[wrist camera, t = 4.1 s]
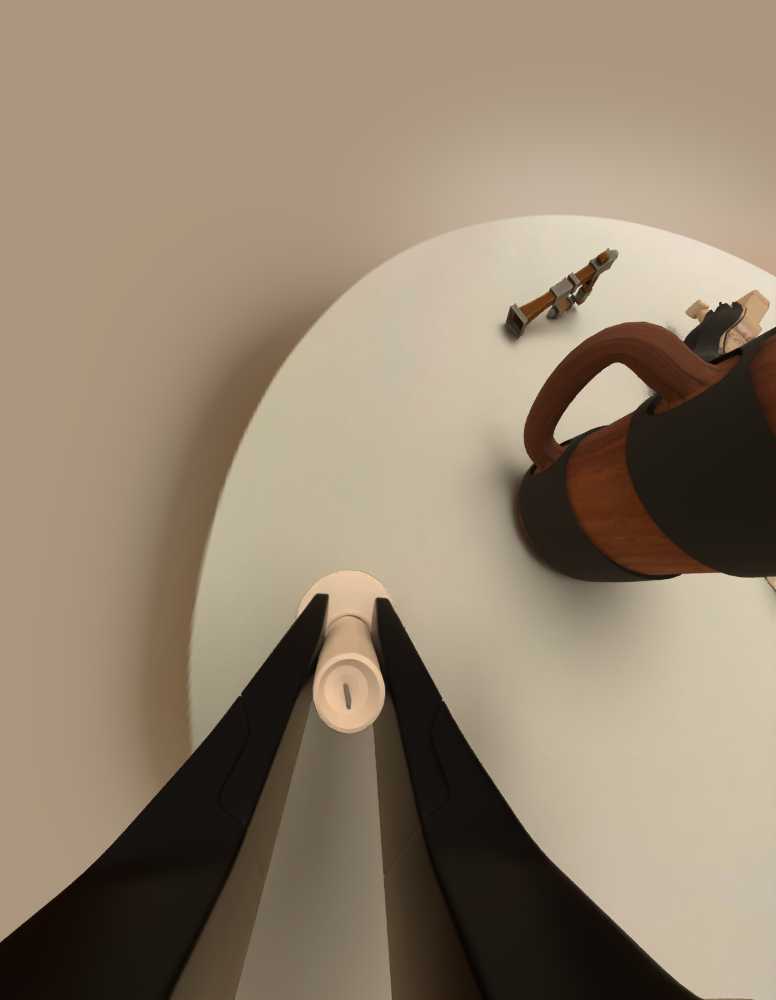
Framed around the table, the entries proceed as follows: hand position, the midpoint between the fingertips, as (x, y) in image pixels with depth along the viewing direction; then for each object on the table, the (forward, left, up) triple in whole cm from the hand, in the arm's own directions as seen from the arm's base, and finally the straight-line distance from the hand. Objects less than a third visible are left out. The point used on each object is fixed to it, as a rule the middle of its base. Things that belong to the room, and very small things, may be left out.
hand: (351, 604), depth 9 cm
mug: (+7, -13, -7) cm, 16 cm away
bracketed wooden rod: (+23, -14, -7) cm, 27 cm away
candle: (-1, 0, -7) cm, 7 cm away
